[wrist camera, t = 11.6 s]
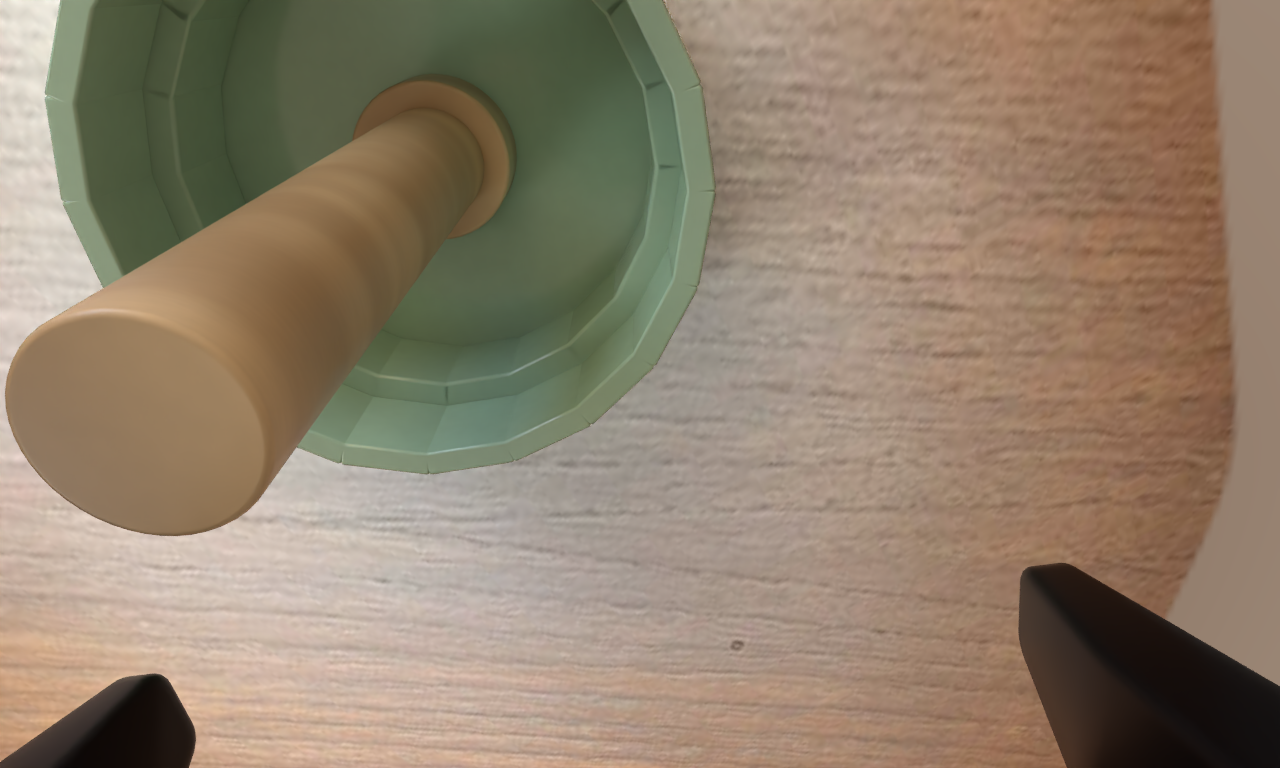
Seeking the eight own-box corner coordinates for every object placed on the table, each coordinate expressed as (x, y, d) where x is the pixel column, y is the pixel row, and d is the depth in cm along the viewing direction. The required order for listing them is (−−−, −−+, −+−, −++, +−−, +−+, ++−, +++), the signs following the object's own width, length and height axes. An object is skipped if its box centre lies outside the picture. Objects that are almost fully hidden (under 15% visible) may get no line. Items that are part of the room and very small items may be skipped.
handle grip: (497, 60, 17) (250, 215, 6) (532, 212, 19) (380, 557, 8) (346, 88, 17) (-148, 285, 6) (392, 236, 19) (51, 604, 8)
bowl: (649, -202, 16) (654, -270, 11) (724, 328, 21) (748, 427, 16) (105, -88, 17) (-91, -110, 12) (298, 397, 21) (208, 509, 17)
